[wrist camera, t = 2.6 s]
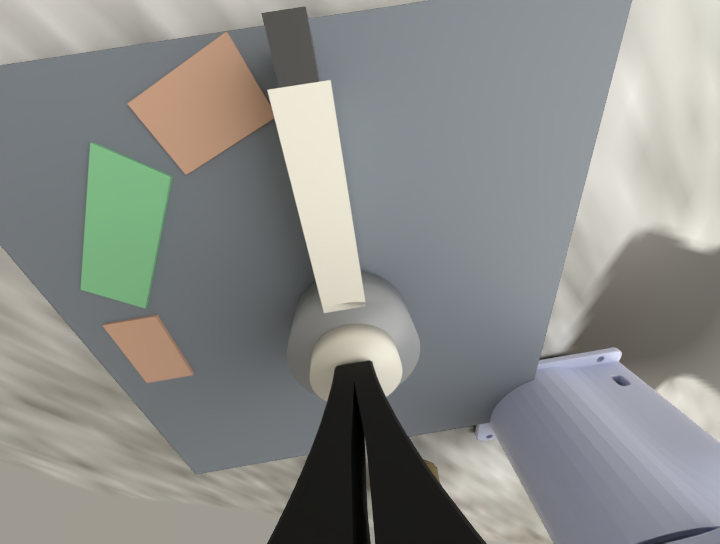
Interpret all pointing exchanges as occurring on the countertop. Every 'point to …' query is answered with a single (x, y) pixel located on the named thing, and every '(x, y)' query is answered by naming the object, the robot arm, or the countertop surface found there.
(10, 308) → the countertop surface
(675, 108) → the countertop surface
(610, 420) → the robot arm
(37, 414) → the countertop surface
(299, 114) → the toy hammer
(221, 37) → the board
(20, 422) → the countertop surface
